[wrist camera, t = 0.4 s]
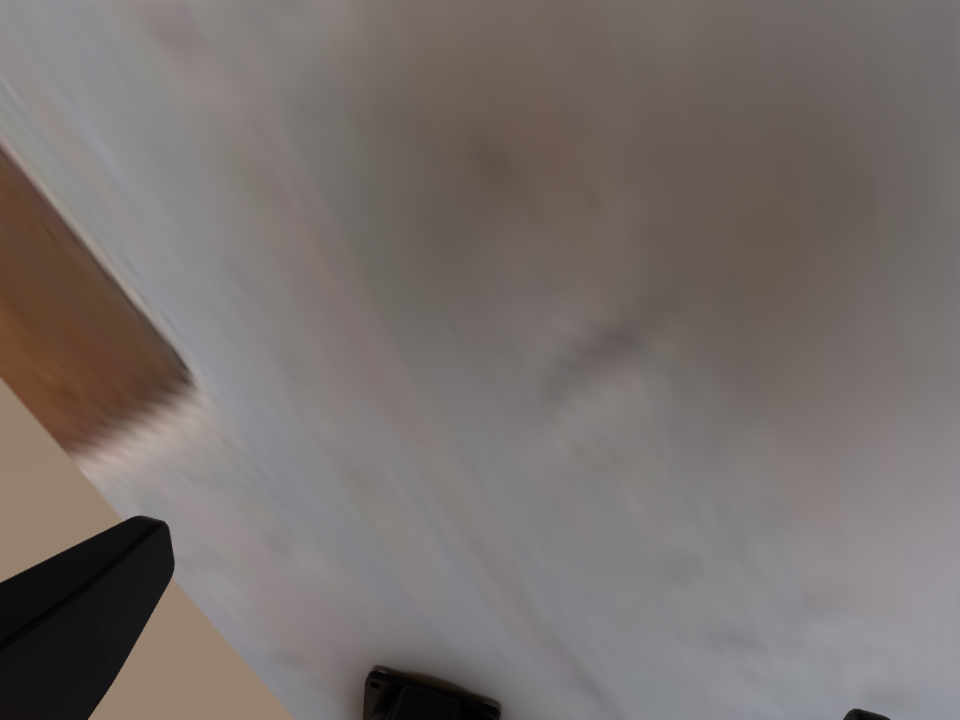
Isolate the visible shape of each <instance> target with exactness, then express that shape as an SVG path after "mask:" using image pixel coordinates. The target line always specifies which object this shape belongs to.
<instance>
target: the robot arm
mask: <svg viewBox="0 0 960 720" xmlns="http://www.w3.org/2000/svg"><path fill="white" fill-rule="evenodd" d="M174 566H175V561H174V554H173V548H172V542H171V536H170V530H169V526H168V525H167V524H166V522H164V521H162V520H158V519H154V518H150V517H147V516H141V515H140V516H135V517H132V518H130V519H128V520H126V521H124V522H121V523H119V524H117V525H116V526H113V527H111V528H110V529H108V530H106V531H104V532H101V533H99V534H97V535H95V536H94V537H92V538H89V539H88V540H85V541H83V542H81V543H79V544H77V545H76V546H73V547H71V548H69V549H67V550H65V551H63V552H61V553H59V554H57V555H55V556H53V557H51V558H49V559H47V560H45V561H43V562H41V563H39V564H37V565H35V566H33V567H31V568H29V569H27V570H25V571H23V572H21V573H19V574H17V575H15V576H13V577H11V578H9V579H7V580H5V581H3V582H1V583H0V720H88V718H89V717H90V715H91V714H92V713H93V711H94V710H95V708H96V707H97V705H98V704H99V702H100V701H101V700H102V698H103V697H104V695H105V694H106V692H107V691H108V689H109V688H110V686H111V685H112V683H113V682H114V680H115V678H116V676H117V675H118V673H119V671H120V670H121V668H122V666H123V665H124V663H125V661H126V659H127V658H128V656H129V654H130V652H131V650H132V649H133V647H134V645H135V643H136V641H137V640H138V638H139V636H140V634H141V632H142V631H143V629H144V627H145V625H146V623H147V621H148V620H149V618H150V616H151V614H152V613H153V611H154V609H155V607H156V605H157V604H158V602H159V600H160V598H161V596H162V595H163V593H164V591H165V589H166V587H167V586H168V584H169V582H170V580H171V578H172V575H173V572H174ZM500 717H501V712H500V711H499V710H498V709H497V708H496V707H494V706H491V705H488V704H485V703H481V702H478V701H475V700H471V699H468V698H465V697H461V696H458V695H455V694H451V693H448V692H445V691H442V690H438V689H435V688H432V687H428V686H425V685H422V684H418V683H415V682H412V681H408V680H405V679H402V678H399V677H395V676H392V675H389V674H385V673H382V672H379V671H371V672H370V673H369V674H368V677H367V679H366V682H365V694H364V712H363V720H500ZM843 720H890V719H889V718H887V717H885V716H883V715H880V714H876V713H872V712H868V711H865V710H861V709H853V710H850V711H849V712H848V713H847V714H846V716H845V718H844V719H843Z"/></svg>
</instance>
